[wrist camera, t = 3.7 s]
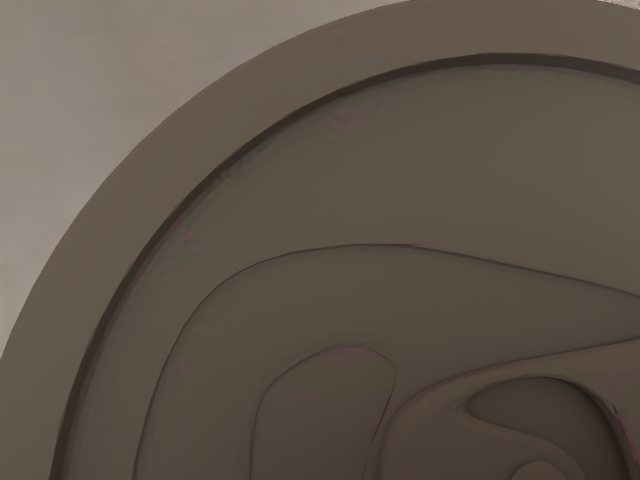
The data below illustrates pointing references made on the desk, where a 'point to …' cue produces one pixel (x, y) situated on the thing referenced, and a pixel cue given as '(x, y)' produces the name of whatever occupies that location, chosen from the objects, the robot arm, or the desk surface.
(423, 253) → the beverage can
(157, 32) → the desk surface
